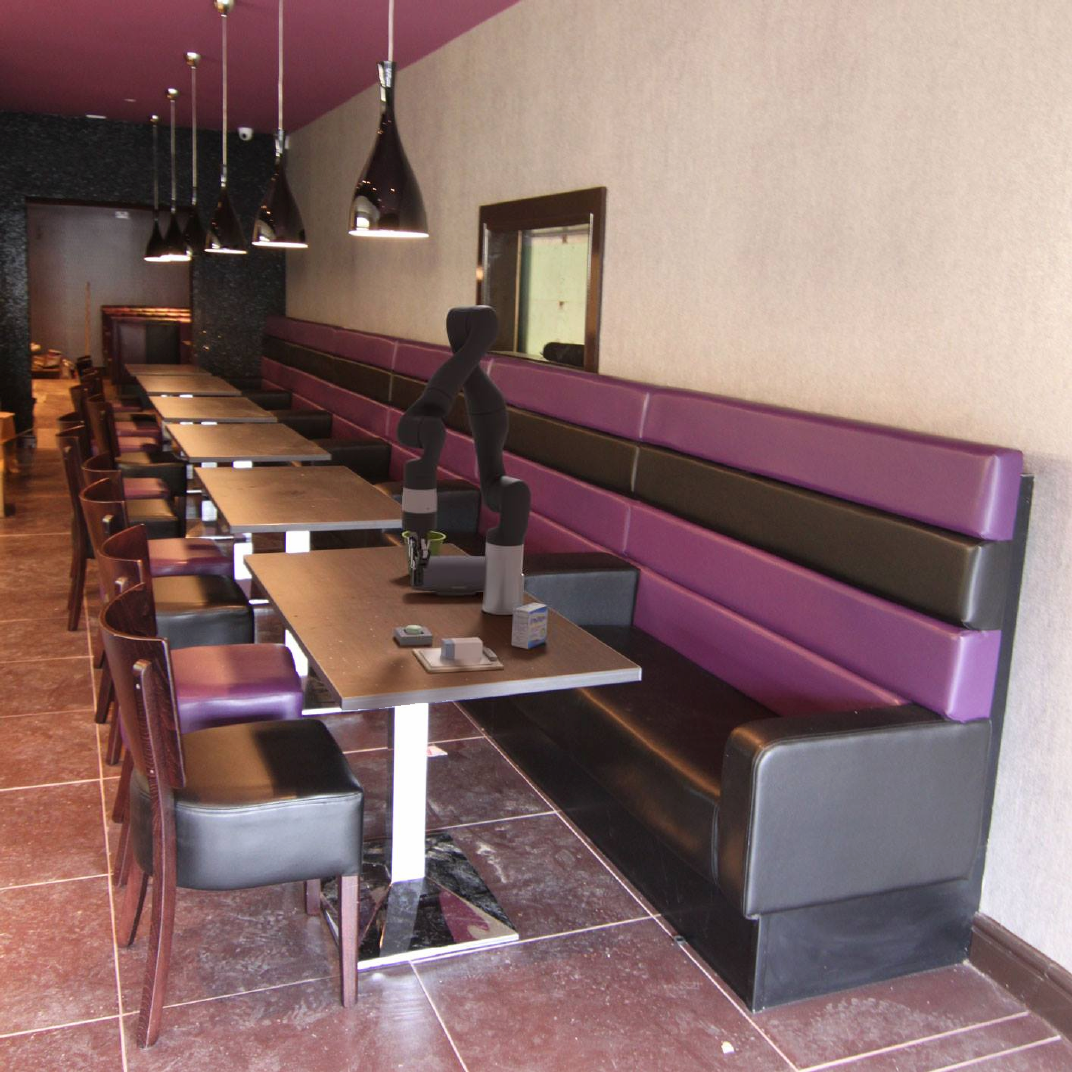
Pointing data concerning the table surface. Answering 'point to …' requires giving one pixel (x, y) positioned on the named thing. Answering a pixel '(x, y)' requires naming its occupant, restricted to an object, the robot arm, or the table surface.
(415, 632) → the button
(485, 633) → the table surface
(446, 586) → the bluetooth speaker
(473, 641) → the white carton blue base
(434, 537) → the plant pot
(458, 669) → the clipboard
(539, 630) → the medicine box
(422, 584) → the robot arm
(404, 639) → the button housing
